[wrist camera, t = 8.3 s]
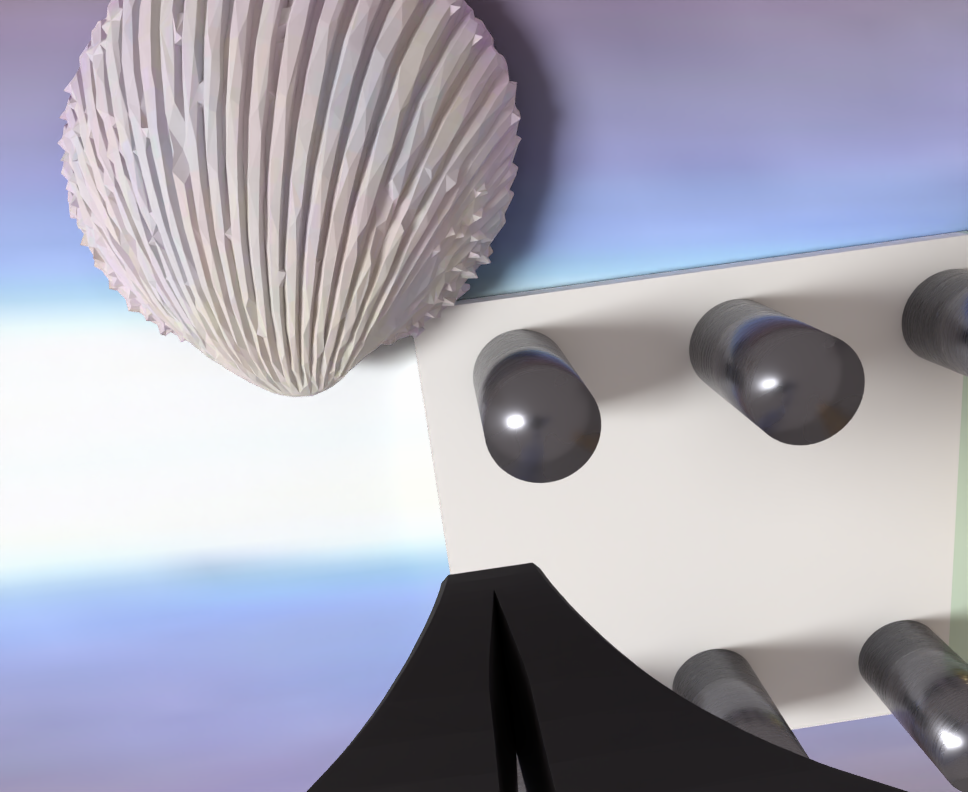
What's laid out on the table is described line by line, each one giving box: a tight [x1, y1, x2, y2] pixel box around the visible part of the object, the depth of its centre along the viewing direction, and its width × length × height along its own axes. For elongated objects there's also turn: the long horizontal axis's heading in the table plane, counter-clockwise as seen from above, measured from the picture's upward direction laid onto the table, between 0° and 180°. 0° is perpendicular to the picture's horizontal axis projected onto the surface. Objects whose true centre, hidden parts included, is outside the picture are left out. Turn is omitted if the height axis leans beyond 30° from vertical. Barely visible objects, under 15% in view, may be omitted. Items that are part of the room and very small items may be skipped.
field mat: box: [414, 231, 968, 730], centre depth 22 cm, size 14×20×1 cm
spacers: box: [473, 269, 968, 792], centre depth 20 cm, size 12×14×4 cm
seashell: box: [58, 0, 522, 397], centre depth 17 cm, size 10×6×10 cm
